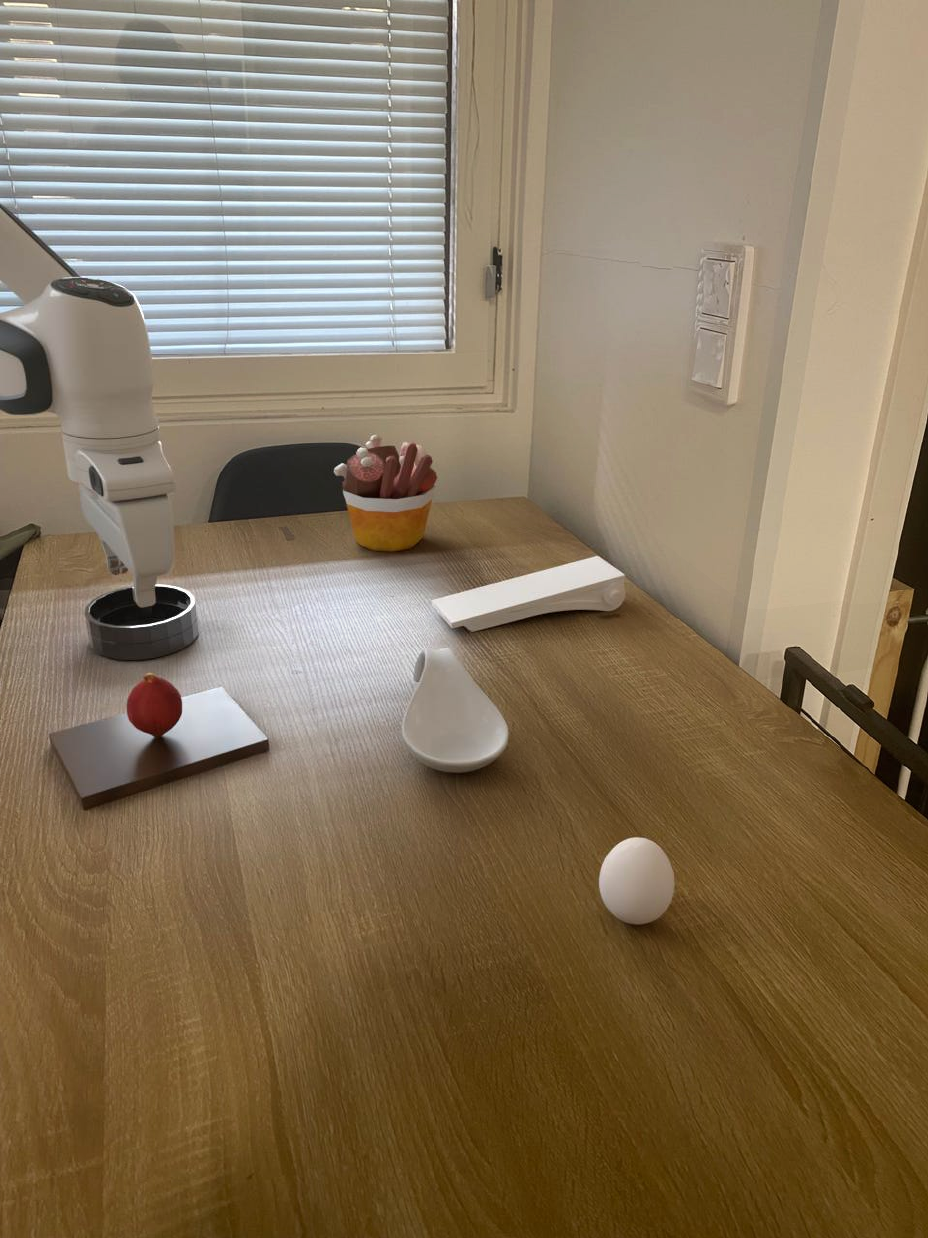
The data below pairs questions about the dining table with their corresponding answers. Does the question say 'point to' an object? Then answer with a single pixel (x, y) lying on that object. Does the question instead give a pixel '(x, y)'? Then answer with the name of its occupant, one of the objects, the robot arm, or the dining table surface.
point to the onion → (154, 706)
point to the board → (155, 748)
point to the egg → (636, 881)
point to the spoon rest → (451, 717)
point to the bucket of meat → (388, 494)
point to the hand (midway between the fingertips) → (131, 587)
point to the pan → (141, 623)
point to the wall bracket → (536, 595)
